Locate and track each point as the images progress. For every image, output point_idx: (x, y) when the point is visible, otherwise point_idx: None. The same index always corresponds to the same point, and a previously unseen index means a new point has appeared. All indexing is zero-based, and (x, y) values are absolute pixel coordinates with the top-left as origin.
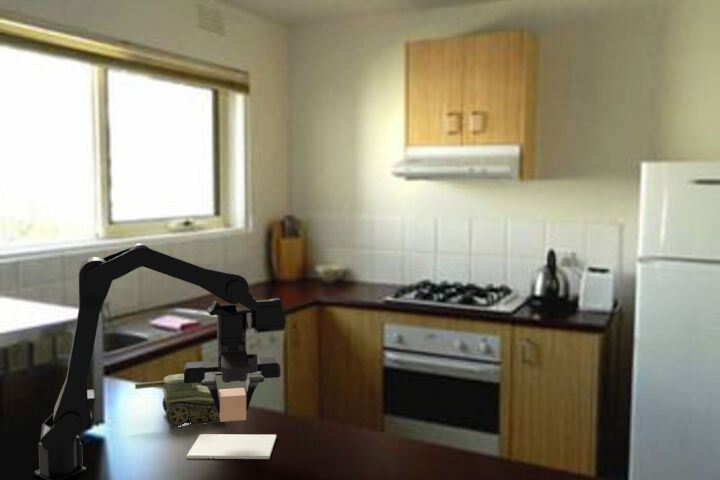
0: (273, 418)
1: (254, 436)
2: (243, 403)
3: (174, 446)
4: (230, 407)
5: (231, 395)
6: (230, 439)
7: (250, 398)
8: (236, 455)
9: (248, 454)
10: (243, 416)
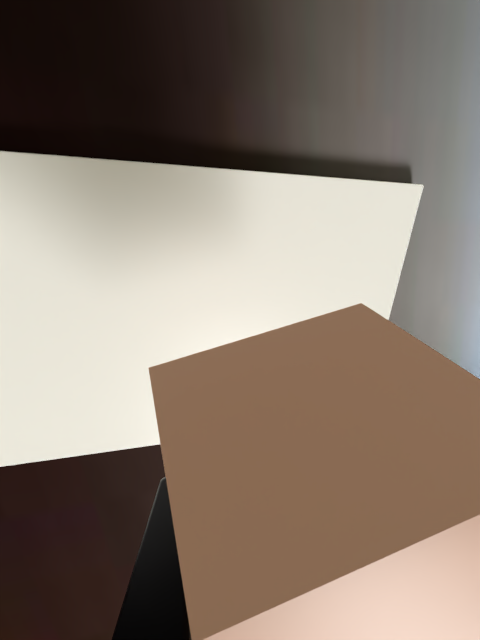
0: (84, 616)
1: (121, 427)
2: (207, 483)
3: (446, 315)
4: (351, 396)
5: (444, 552)
6: None
7: (127, 624)
8: (174, 167)
9: (99, 182)
10: (178, 379)
